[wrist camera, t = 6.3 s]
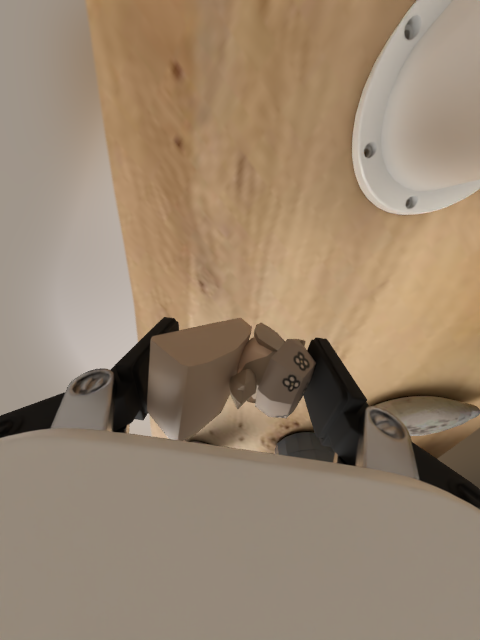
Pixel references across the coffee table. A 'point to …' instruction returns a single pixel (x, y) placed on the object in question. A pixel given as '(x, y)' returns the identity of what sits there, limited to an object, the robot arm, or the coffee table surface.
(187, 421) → the toy character
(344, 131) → the coffee table surface
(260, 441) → the coffee table surface
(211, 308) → the coffee table surface
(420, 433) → the decorative stone
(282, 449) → the dark blue cup
